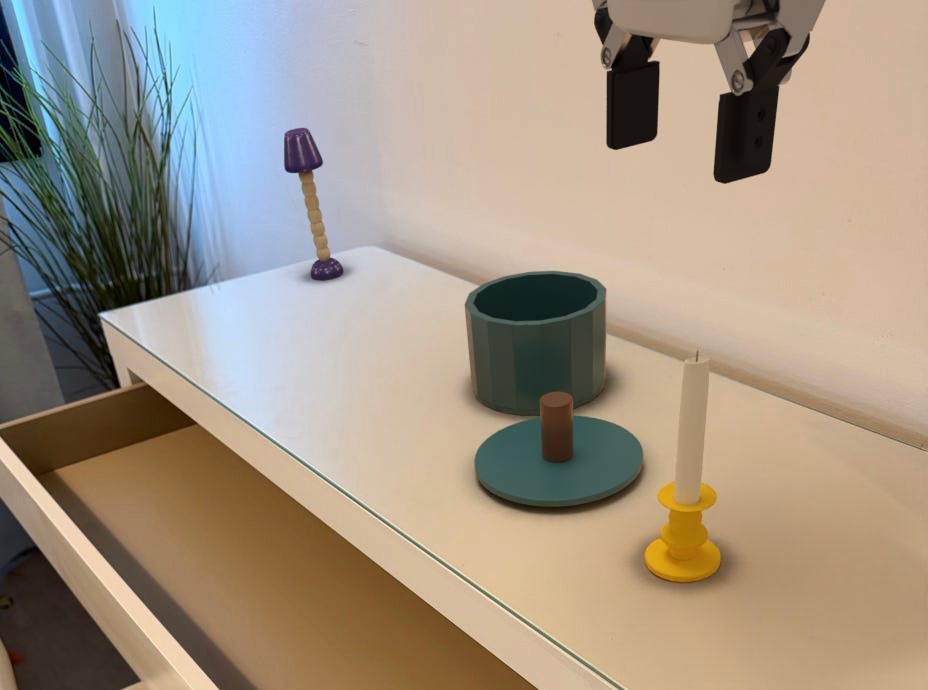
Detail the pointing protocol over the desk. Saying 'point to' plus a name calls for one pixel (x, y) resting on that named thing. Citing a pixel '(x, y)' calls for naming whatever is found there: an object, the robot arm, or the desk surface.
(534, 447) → the lid
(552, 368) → the tin
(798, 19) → the robot arm
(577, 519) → the desk surface
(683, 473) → the candle
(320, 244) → the toy lamp
